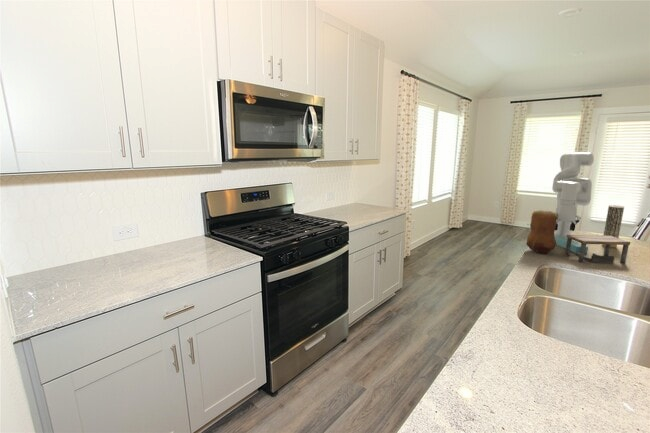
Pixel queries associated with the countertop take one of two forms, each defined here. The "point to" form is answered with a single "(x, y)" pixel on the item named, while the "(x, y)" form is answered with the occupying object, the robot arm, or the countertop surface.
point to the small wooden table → (597, 240)
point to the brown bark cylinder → (613, 222)
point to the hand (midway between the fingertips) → (563, 230)
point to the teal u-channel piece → (574, 245)
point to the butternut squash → (542, 231)
